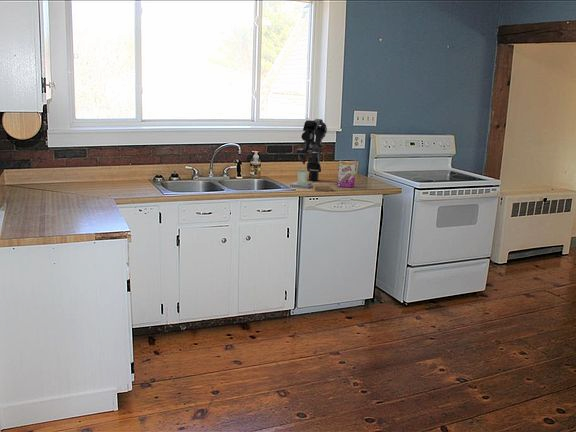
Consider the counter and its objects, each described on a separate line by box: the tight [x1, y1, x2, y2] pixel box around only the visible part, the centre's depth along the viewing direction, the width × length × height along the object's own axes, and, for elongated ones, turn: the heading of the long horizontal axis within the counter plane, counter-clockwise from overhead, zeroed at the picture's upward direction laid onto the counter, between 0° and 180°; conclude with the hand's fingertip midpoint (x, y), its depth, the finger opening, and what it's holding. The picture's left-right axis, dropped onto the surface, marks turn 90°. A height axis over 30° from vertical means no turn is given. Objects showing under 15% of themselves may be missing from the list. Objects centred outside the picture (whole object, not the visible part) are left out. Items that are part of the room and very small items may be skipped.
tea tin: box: [296, 168, 309, 185], centre depth 373 cm, size 4×5×9 cm
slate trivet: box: [289, 181, 315, 189], centre depth 374 cm, size 12×12×2 cm
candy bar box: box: [336, 160, 357, 188], centre depth 378 cm, size 11×5×16 cm, turn 84°
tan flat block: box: [312, 183, 332, 192], centre depth 365 cm, size 8×10×3 cm
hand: (308, 163), depth 383 cm, fingers open, 9 cm apart
